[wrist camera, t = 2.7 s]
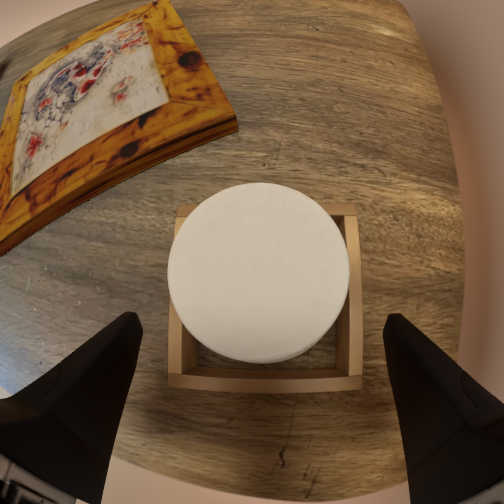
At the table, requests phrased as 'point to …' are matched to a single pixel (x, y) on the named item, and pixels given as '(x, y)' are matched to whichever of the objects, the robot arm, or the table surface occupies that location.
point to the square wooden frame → (281, 381)
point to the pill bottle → (258, 273)
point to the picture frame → (104, 116)
